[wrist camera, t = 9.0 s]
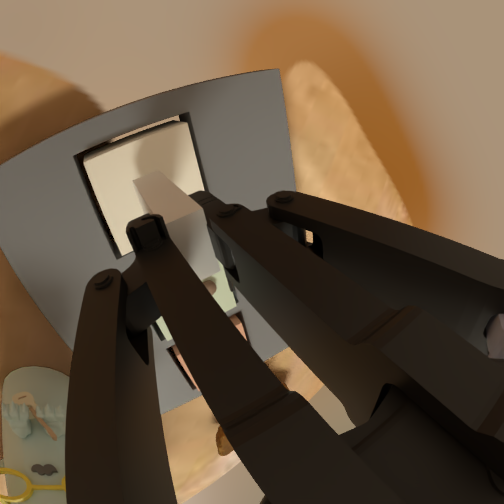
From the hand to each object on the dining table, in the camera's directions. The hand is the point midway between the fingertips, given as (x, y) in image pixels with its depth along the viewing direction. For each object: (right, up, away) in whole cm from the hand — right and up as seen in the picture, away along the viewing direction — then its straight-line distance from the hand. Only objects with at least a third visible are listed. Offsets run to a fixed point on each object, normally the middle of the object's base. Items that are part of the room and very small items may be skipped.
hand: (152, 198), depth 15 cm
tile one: (-2, +2, +3) cm, 4 cm away
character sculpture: (-14, -15, +5) cm, 22 cm away
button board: (-1, -4, +8) cm, 9 cm away
